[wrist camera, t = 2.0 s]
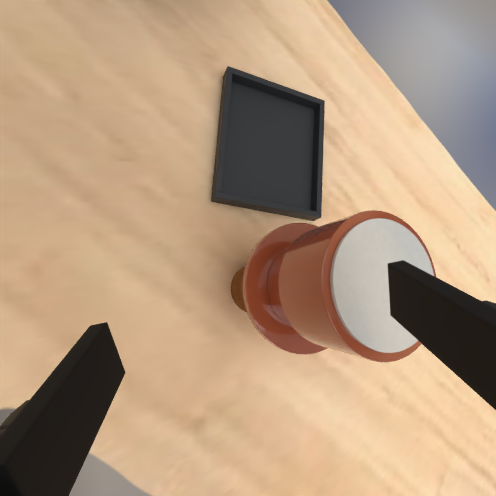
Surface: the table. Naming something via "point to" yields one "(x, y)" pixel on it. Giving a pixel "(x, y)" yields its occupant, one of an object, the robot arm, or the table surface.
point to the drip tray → (269, 147)
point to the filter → (333, 286)
